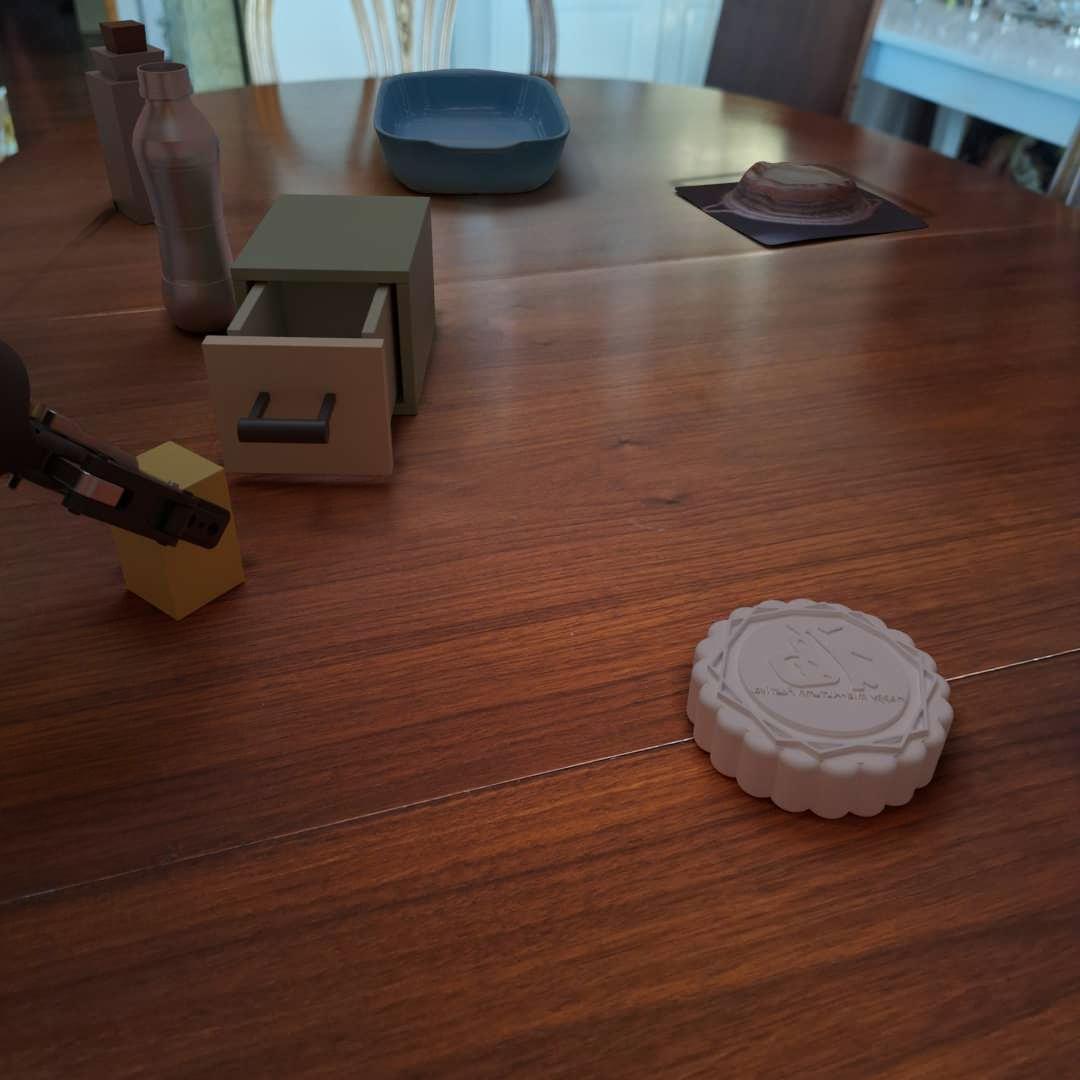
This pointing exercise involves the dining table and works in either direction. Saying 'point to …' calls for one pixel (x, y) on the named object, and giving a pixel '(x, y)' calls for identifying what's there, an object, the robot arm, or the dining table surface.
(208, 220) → the plastic bottle
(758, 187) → the round mound on square
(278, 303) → the drawer
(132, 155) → the perfume bottle
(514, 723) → the dining table surface
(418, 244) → the cabinet
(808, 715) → the mooncake
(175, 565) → the block
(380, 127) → the casserole dish
